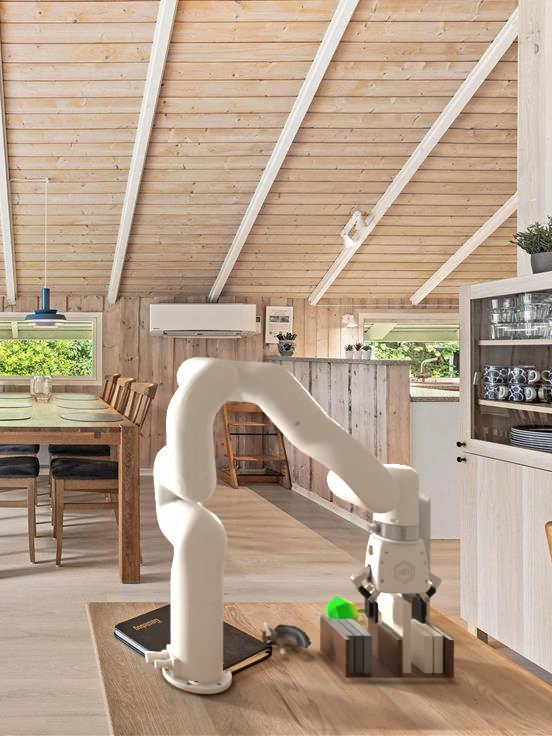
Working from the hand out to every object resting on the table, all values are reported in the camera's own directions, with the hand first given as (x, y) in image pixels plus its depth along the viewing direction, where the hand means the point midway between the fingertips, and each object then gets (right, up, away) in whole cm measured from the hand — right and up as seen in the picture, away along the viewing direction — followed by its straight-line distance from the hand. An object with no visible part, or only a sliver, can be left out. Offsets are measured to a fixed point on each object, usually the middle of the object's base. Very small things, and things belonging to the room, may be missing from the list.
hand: (395, 620), depth 120 cm
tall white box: (+13, -10, +19) cm, 25 cm away
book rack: (-2, -9, 0) cm, 10 cm away
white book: (0, -8, 0) cm, 8 cm away
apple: (0, -10, +18) cm, 20 cm away
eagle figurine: (-19, -9, +5) cm, 22 cm away
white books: (+5, -8, 0) cm, 10 cm away
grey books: (-9, -8, 0) cm, 12 cm away
